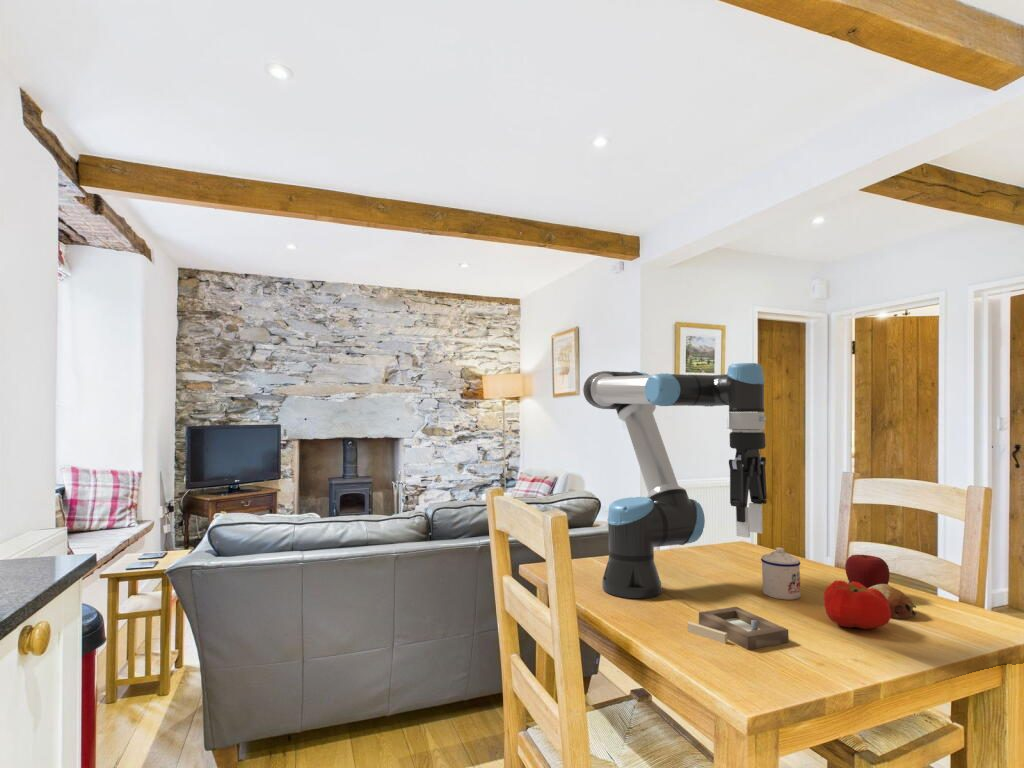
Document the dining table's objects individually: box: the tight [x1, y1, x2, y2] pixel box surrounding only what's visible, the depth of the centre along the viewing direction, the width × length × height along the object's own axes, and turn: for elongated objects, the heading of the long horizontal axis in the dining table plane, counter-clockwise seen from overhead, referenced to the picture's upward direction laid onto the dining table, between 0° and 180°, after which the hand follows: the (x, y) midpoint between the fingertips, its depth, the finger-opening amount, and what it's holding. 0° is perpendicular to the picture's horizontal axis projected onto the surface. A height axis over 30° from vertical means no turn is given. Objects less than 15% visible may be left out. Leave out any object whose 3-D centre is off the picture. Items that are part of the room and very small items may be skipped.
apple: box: [845, 554, 890, 588], centre depth 142 cm, size 10×10×10 cm
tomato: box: [823, 579, 892, 630], centre depth 121 cm, size 14×13×9 cm
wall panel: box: [686, 620, 758, 644], centre depth 114 cm, size 22×16×5 cm
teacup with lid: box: [760, 547, 801, 601], centre depth 143 cm, size 12×9×12 cm
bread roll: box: [869, 584, 917, 620], centre depth 129 cm, size 10×10×8 cm
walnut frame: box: [698, 606, 790, 651], centre depth 113 cm, size 14×10×2 cm
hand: (749, 534), depth 125 cm, fingers open, 6 cm apart
